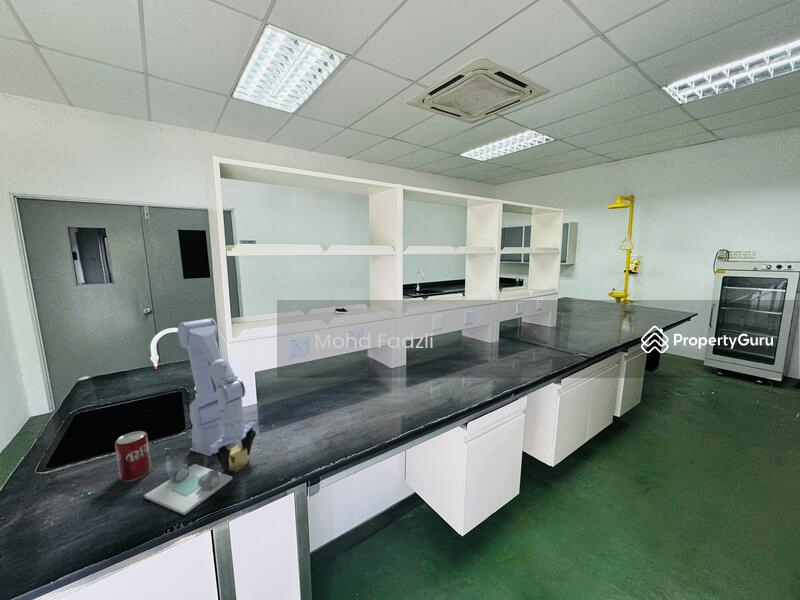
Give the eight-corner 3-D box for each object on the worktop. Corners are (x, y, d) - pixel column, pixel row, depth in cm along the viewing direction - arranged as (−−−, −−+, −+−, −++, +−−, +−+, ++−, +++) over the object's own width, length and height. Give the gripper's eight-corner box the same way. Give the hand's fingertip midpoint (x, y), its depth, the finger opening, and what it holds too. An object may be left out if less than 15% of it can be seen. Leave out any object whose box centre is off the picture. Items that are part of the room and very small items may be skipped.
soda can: (157, 466, 99) (152, 430, 97) (139, 482, 92) (133, 443, 90) (133, 466, 99) (128, 430, 97) (113, 483, 91) (107, 444, 90)
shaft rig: (144, 497, 86) (142, 484, 85) (194, 466, 99) (193, 454, 98) (184, 515, 80) (182, 500, 79) (232, 479, 93) (231, 466, 92)
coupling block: (225, 468, 97) (223, 453, 97) (237, 459, 102) (236, 445, 101) (236, 472, 96) (234, 456, 95) (248, 463, 100) (246, 448, 99)
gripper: (221, 435, 89) (225, 479, 90) (261, 411, 102) (264, 450, 104) (203, 430, 91) (207, 473, 93) (245, 408, 104) (248, 446, 106)
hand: (236, 461), depth 98 cm, fingers open, 7 cm apart
